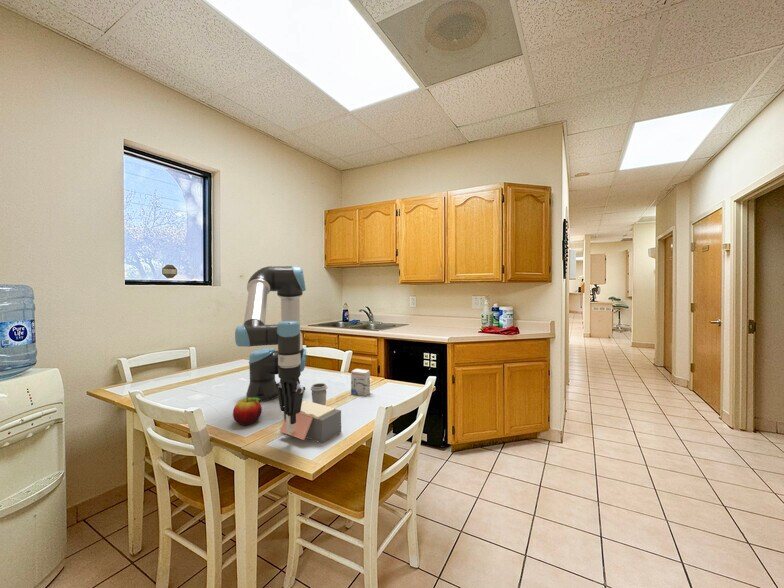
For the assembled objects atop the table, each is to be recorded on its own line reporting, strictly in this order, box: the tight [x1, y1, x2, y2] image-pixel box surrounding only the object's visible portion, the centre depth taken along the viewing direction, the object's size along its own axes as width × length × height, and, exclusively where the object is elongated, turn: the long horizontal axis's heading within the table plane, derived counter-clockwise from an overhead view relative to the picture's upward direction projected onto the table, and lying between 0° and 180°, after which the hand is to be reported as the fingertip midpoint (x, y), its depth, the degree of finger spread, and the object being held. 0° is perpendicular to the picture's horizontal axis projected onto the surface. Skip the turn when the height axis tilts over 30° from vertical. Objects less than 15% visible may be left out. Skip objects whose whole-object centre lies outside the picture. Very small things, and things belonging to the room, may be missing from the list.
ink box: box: [350, 368, 371, 397], centre depth 164 cm, size 9×5×12 cm, turn 68°
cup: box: [310, 382, 328, 406], centre depth 141 cm, size 7×7×12 cm
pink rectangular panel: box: [279, 413, 313, 441], centre depth 117 cm, size 12×8×1 cm
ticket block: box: [283, 400, 342, 444], centre depth 124 cm, size 20×10×9 cm, turn 58°
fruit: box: [232, 397, 263, 426], centre depth 132 cm, size 11×11×10 cm
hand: (290, 432), depth 115 cm, fingers closed
